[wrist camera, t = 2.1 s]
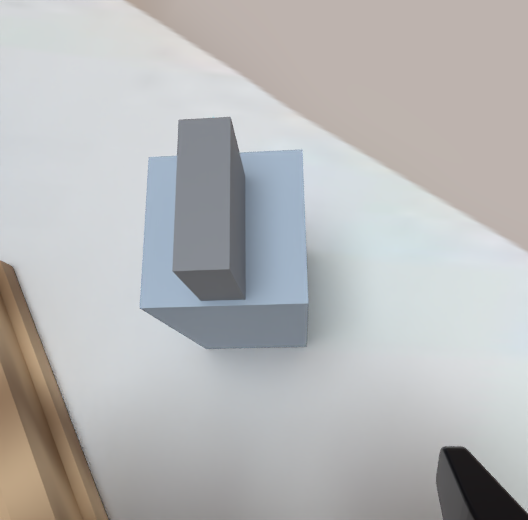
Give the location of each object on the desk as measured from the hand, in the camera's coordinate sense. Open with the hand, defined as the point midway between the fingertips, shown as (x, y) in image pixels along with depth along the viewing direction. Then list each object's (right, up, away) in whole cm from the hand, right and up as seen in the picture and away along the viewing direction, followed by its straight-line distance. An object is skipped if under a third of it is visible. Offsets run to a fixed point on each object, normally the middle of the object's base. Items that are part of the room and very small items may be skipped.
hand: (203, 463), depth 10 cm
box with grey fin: (+1, +2, +13) cm, 13 cm away
